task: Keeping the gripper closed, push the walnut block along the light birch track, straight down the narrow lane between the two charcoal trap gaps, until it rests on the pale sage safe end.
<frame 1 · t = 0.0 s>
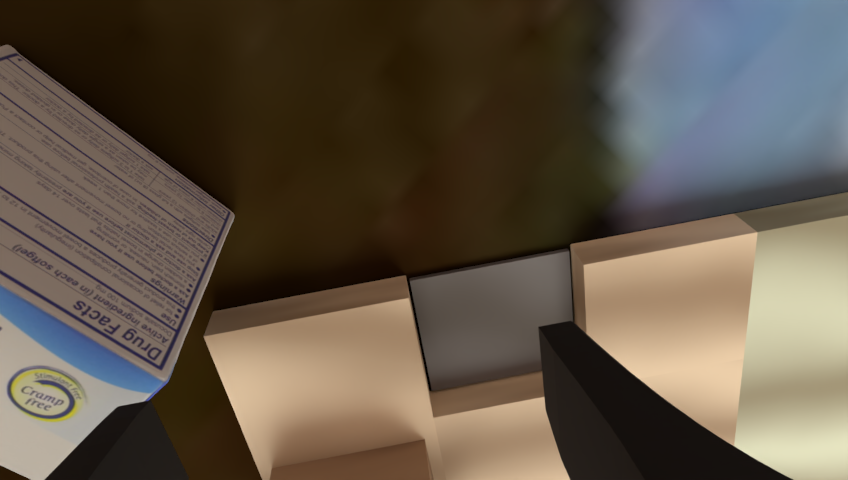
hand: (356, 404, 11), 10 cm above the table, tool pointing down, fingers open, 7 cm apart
medicine box: (97, 177, 20), on the table
trap track: (579, 417, 26), on the table
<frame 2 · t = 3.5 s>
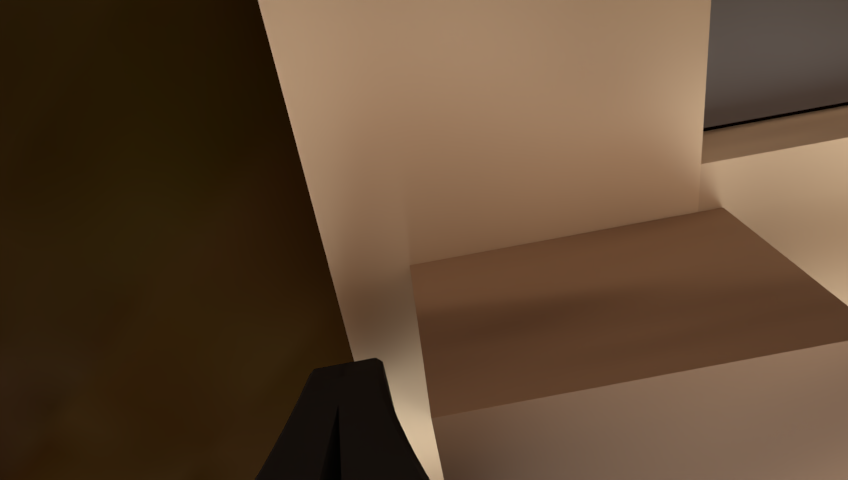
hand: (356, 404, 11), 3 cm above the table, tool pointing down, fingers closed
walnut block: (571, 322, 12), point 2 cm above the table, touching gripper, trap track
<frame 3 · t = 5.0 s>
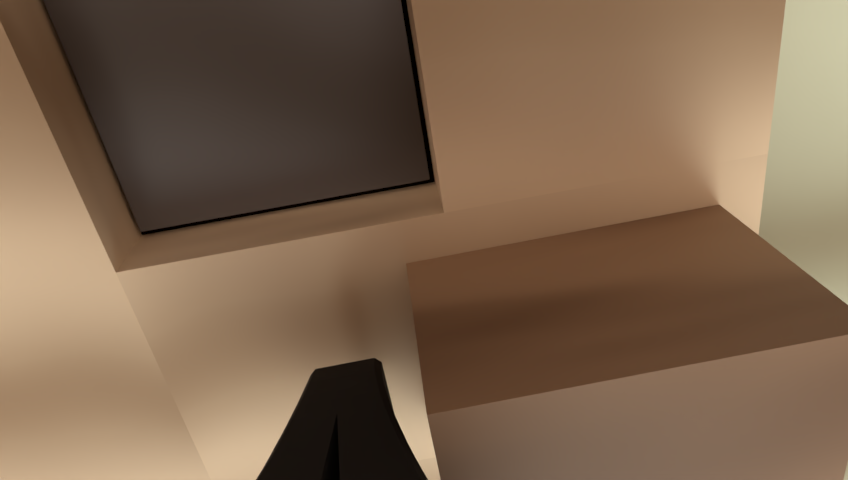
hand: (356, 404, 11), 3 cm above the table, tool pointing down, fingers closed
trap track: (454, 303, 14), on the table
walnut block: (568, 320, 12), point 2 cm above the table, touching gripper
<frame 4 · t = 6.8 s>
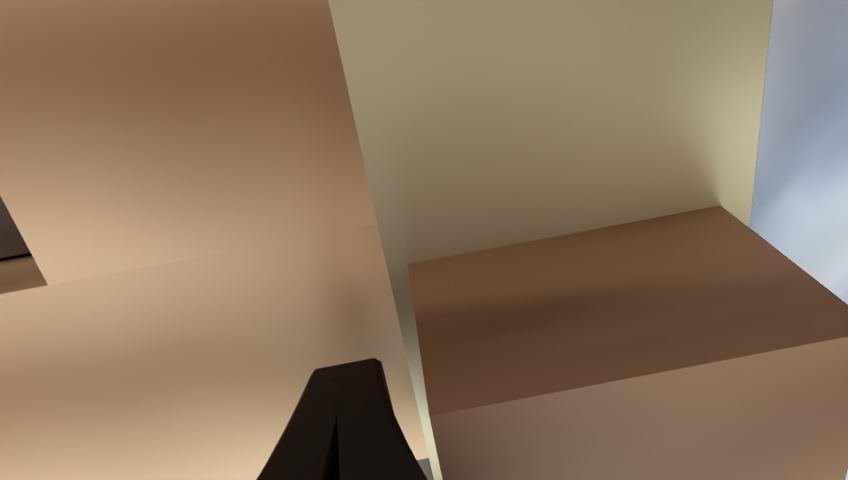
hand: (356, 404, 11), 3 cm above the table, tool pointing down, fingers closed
trap track: (137, 362, 14), on the table
walnut block: (569, 320, 12), point 1 cm above the table, touching gripper, trap track
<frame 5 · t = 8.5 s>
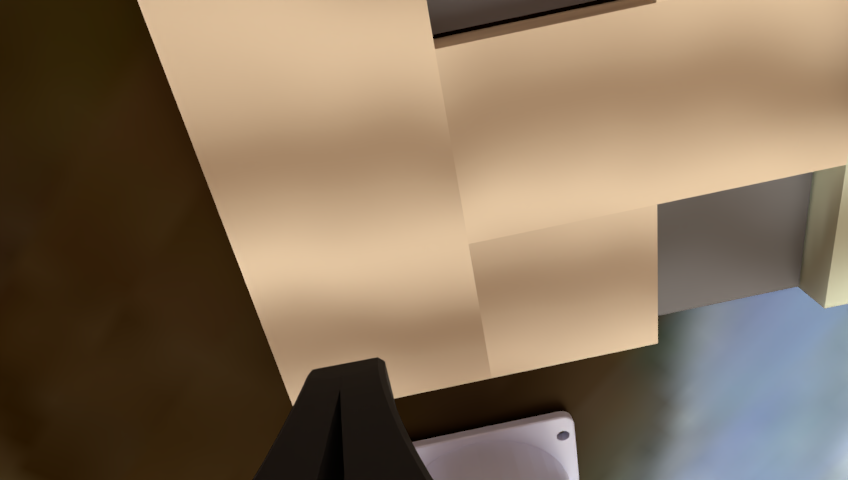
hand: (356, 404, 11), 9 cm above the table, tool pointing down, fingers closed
trap track: (636, 98, 19), on the table
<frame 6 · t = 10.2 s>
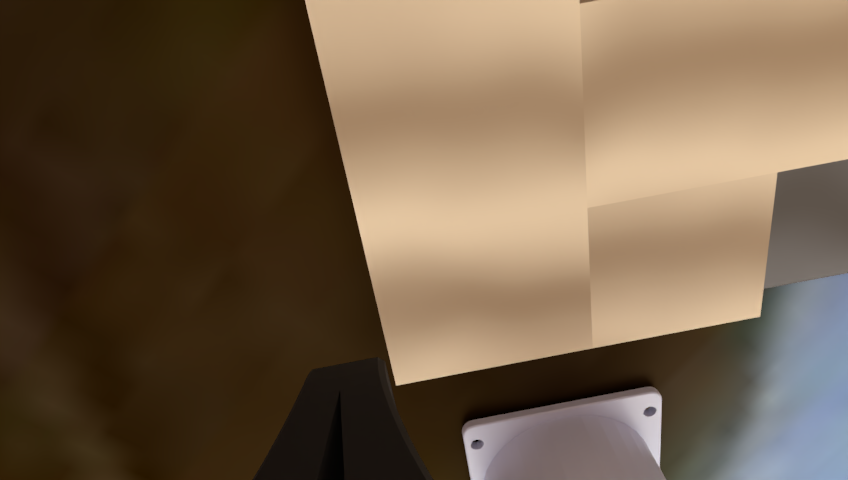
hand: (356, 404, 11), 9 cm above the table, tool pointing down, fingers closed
trap track: (759, 65, 19), on the table
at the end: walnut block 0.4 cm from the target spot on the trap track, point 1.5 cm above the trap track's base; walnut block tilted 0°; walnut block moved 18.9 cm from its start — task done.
